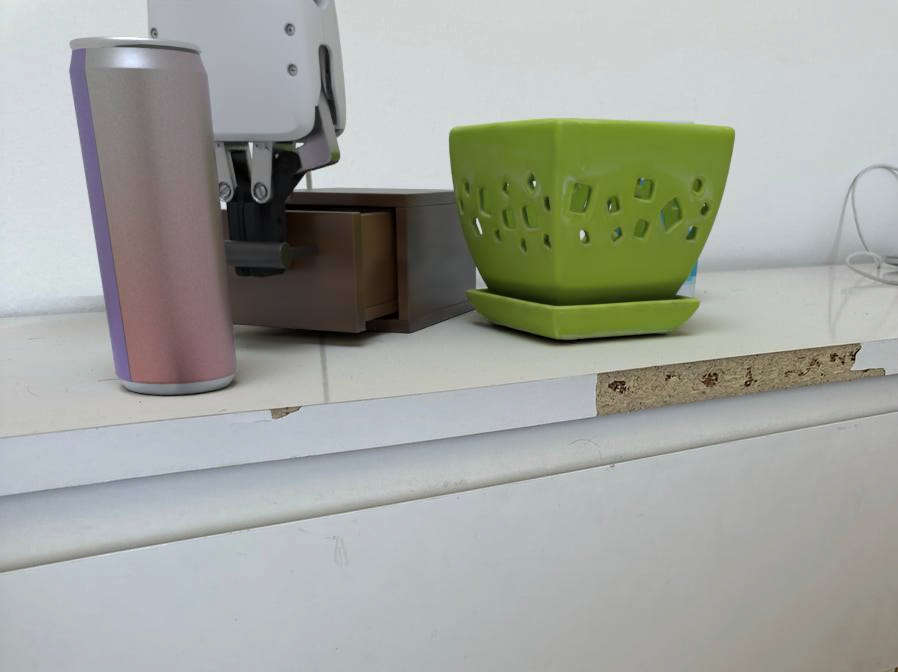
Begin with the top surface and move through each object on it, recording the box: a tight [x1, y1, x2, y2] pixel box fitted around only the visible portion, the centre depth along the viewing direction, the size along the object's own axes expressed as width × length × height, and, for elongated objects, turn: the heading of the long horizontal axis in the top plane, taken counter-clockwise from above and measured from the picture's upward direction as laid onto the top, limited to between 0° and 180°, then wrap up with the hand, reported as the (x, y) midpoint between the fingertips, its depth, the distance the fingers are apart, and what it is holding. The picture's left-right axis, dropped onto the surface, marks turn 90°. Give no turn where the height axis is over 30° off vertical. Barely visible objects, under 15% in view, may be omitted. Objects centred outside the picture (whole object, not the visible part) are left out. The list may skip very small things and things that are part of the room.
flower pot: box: [448, 117, 736, 341], centre depth 65 cm, size 14×14×13 cm
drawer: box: [221, 206, 399, 334], centre depth 63 cm, size 17×10×7 cm, turn 161°
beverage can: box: [68, 36, 238, 396], centre depth 47 cm, size 6×6×15 cm
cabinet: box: [285, 187, 477, 334], centre depth 71 cm, size 14×12×9 cm
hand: (261, 274), depth 58 cm, fingers closed
